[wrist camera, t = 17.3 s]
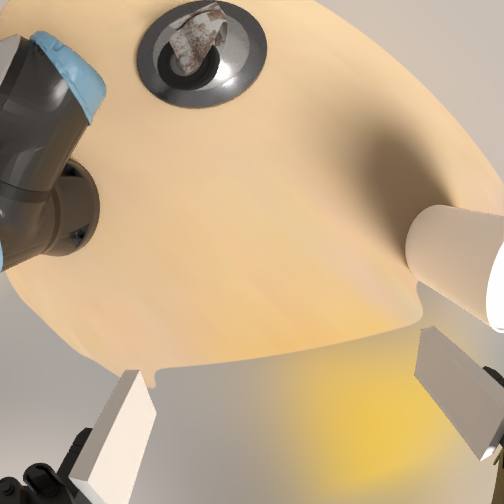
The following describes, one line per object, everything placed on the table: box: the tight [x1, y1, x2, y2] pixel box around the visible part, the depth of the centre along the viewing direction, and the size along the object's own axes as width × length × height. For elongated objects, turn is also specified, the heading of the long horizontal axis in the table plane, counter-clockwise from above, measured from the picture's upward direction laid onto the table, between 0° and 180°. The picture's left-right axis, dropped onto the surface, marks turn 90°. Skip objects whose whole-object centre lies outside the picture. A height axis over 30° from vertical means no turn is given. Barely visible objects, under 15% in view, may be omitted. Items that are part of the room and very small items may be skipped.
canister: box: [405, 205, 504, 333], centre depth 34 cm, size 14×14×20 cm
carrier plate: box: [137, 0, 267, 109], centre depth 36 cm, size 19×19×1 cm
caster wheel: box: [157, 2, 228, 91], centre depth 33 cm, size 7×11×10 cm
